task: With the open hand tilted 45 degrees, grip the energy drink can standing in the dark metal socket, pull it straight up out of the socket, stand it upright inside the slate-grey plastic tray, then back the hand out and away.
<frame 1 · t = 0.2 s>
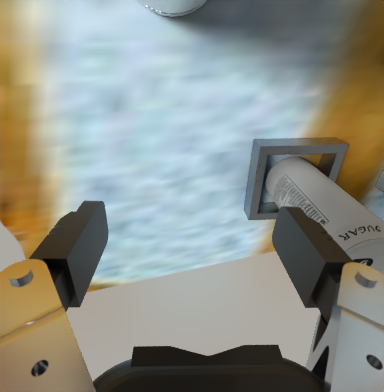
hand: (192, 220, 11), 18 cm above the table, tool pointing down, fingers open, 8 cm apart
can socket: (286, 176, 30), on the table
energy drink can: (285, 175, 31), resting in can socket
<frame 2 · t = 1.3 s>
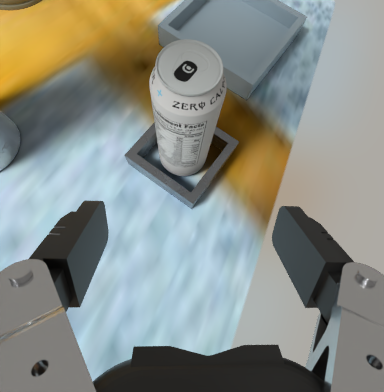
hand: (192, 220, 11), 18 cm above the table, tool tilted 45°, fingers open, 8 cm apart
can socket: (182, 157, 31), on the table
energy drink can: (182, 157, 31), resting in can socket
tray: (230, 39, 37), on the table
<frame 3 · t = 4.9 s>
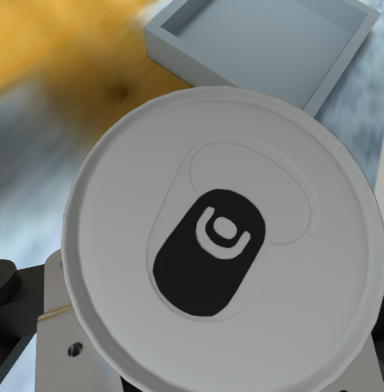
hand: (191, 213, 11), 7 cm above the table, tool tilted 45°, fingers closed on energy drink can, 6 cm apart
energy drink can: (185, 255, 18), resting in can socket, touching gripper
tray: (258, 49, 24), on the table
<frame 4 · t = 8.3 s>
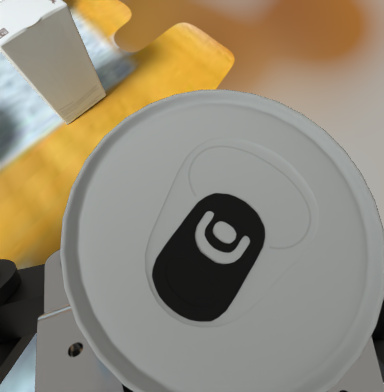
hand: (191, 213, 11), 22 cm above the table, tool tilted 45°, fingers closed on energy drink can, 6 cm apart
skincare box: (76, 101, 38), on the table
energy drink can: (184, 256, 18), point 15 cm above the table, touching gripper
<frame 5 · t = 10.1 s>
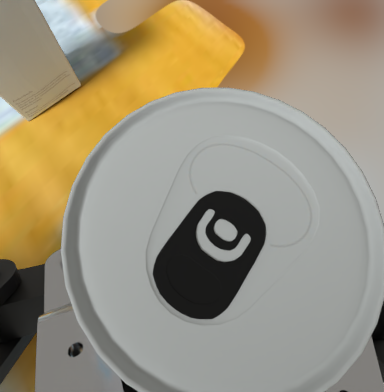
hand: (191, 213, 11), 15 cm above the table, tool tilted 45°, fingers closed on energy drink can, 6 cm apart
skincare box: (43, 92, 30), on the table
energy drink can: (185, 255, 18), point 8 cm above the table, touching gripper
when the fingers open (10 cm above the table, at t = 11.6 s): energy drink can drops 1 cm, resting on tray.
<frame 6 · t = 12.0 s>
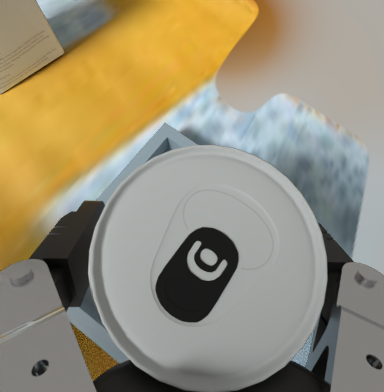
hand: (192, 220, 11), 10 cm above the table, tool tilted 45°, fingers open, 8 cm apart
skincare box: (19, 61, 25), on the table
energy drink can: (183, 259, 19), point 1 cm above the table, touching tray
tray: (184, 256, 20), on the table
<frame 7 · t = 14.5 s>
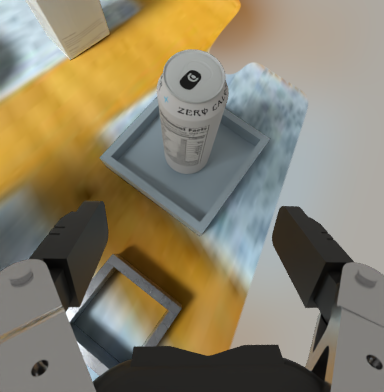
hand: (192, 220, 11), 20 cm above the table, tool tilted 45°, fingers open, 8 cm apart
can socket: (122, 314, 28), on the table
skincare box: (80, 39, 38), on the table
energy drink can: (186, 156, 33), point 1 cm above the table, touching tray
tray: (187, 157, 33), on the table
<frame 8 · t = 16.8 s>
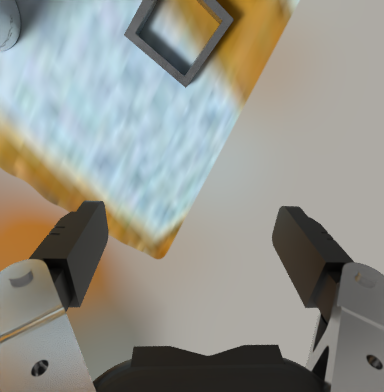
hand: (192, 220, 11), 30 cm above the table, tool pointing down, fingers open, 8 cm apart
can socket: (178, 29, 32), on the table
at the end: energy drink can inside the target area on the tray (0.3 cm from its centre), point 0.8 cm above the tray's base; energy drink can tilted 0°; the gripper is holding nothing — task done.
